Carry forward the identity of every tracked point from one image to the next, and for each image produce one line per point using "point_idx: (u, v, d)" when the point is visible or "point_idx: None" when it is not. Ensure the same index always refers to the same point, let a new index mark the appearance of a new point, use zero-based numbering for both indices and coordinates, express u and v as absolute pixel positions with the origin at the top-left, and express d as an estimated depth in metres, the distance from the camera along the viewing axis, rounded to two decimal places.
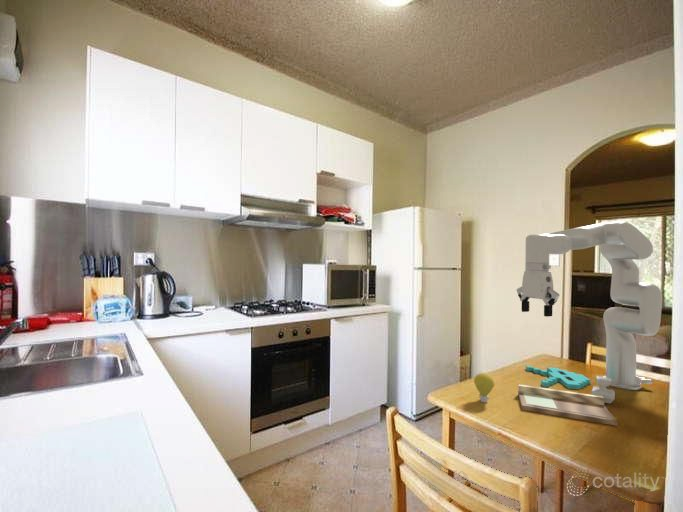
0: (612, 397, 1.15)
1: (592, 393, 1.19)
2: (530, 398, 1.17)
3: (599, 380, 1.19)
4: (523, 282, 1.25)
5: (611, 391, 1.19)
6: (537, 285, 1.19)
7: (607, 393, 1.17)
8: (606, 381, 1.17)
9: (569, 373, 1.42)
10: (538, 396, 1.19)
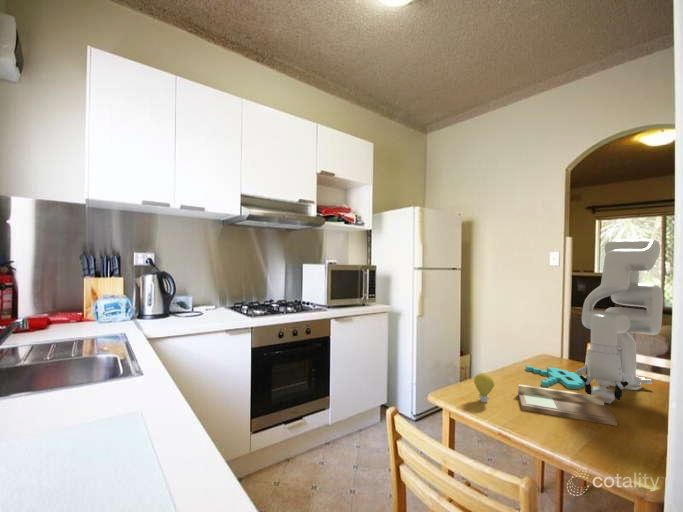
0: (612, 397, 1.15)
1: (592, 393, 1.19)
2: (530, 398, 1.17)
3: (599, 380, 1.19)
4: (592, 364, 1.19)
5: (611, 391, 1.19)
6: (614, 368, 1.16)
7: (607, 393, 1.17)
8: (606, 381, 1.17)
9: (569, 373, 1.42)
10: (538, 396, 1.19)
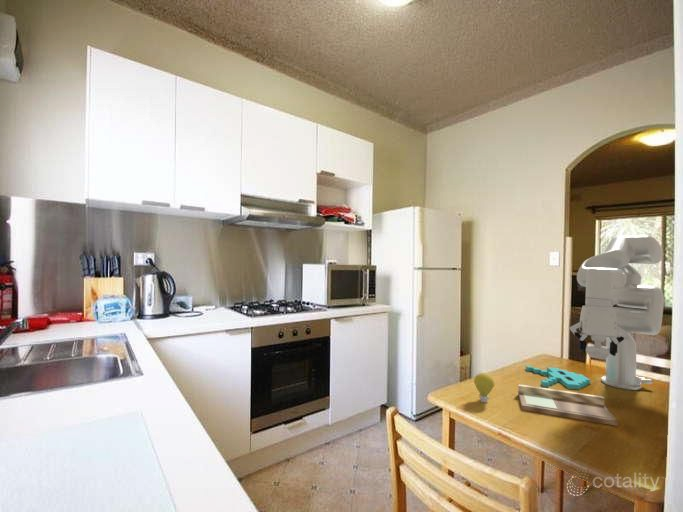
0: (607, 352, 1.11)
1: (587, 349, 1.15)
2: (530, 398, 1.17)
3: (594, 335, 1.14)
4: (586, 319, 1.15)
5: (606, 347, 1.14)
6: (609, 322, 1.12)
7: (602, 348, 1.13)
8: (601, 336, 1.13)
9: (569, 373, 1.42)
10: (538, 396, 1.19)
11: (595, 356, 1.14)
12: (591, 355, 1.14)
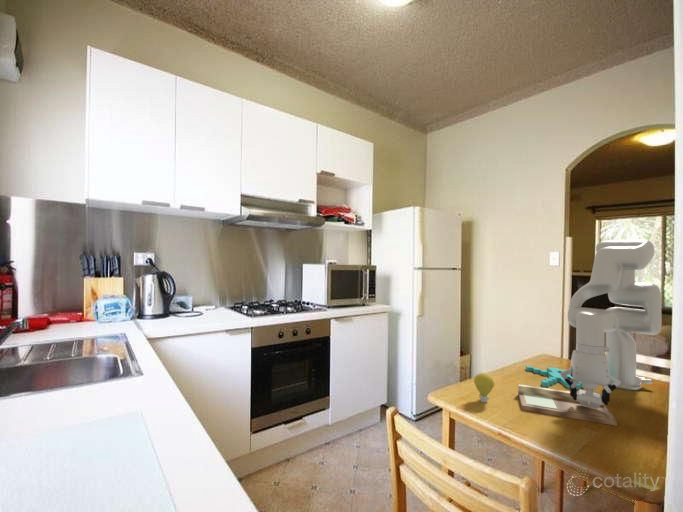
0: (599, 402, 1.06)
1: (578, 397, 1.10)
2: (530, 398, 1.17)
3: (585, 383, 1.09)
4: (577, 366, 1.10)
5: (598, 395, 1.09)
6: (600, 371, 1.07)
7: (594, 397, 1.08)
8: (593, 384, 1.08)
9: None
10: (538, 396, 1.19)
11: (586, 405, 1.09)
12: (582, 403, 1.09)
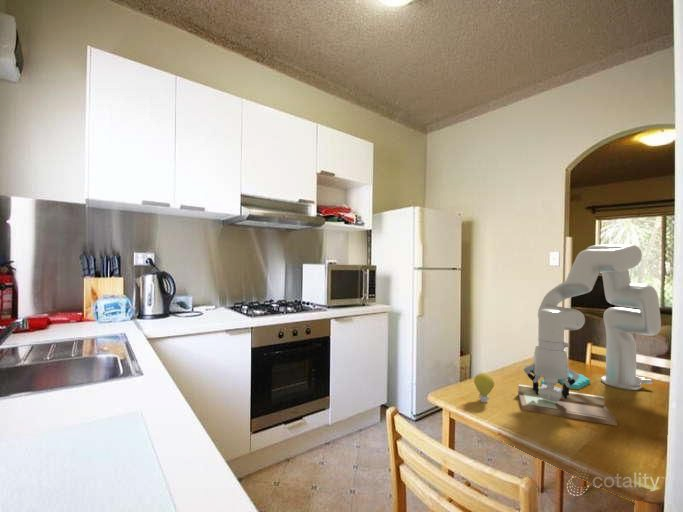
0: (558, 395, 1.10)
1: (539, 391, 1.14)
2: (530, 398, 1.17)
3: (546, 378, 1.14)
4: (538, 361, 1.14)
5: (558, 389, 1.14)
6: (560, 366, 1.11)
7: (554, 391, 1.12)
8: (553, 379, 1.12)
9: (569, 373, 1.42)
10: (538, 396, 1.19)
11: (547, 399, 1.13)
12: (543, 397, 1.14)
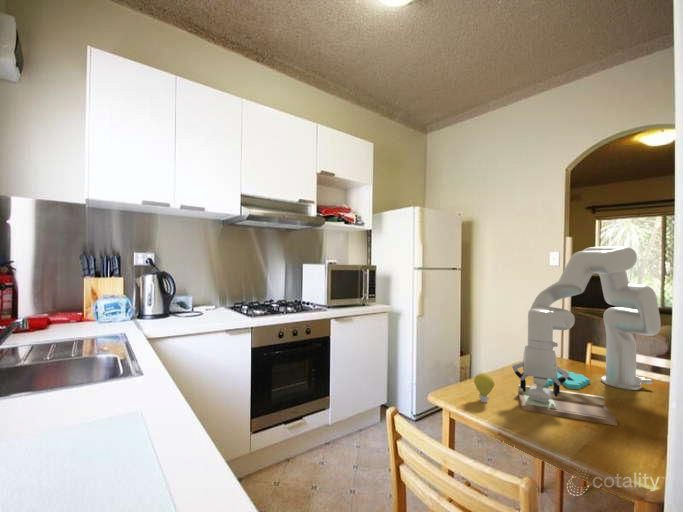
0: (547, 396, 1.12)
1: (529, 392, 1.15)
2: (530, 398, 1.17)
3: (536, 379, 1.15)
4: (528, 361, 1.15)
5: (548, 390, 1.15)
6: (549, 365, 1.12)
7: (543, 392, 1.13)
8: (542, 380, 1.14)
9: (569, 373, 1.42)
10: None
11: (537, 399, 1.14)
12: (533, 398, 1.15)
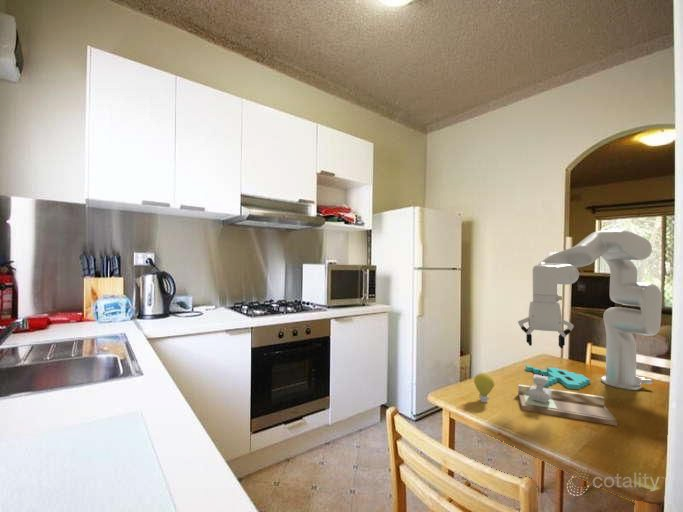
0: (547, 396, 1.12)
1: (529, 392, 1.15)
2: (530, 398, 1.17)
3: (536, 379, 1.15)
4: (533, 315, 1.18)
5: (548, 390, 1.15)
6: (554, 317, 1.16)
7: (543, 392, 1.13)
8: (542, 380, 1.14)
9: (569, 373, 1.42)
10: None
11: (537, 399, 1.14)
12: (533, 398, 1.15)
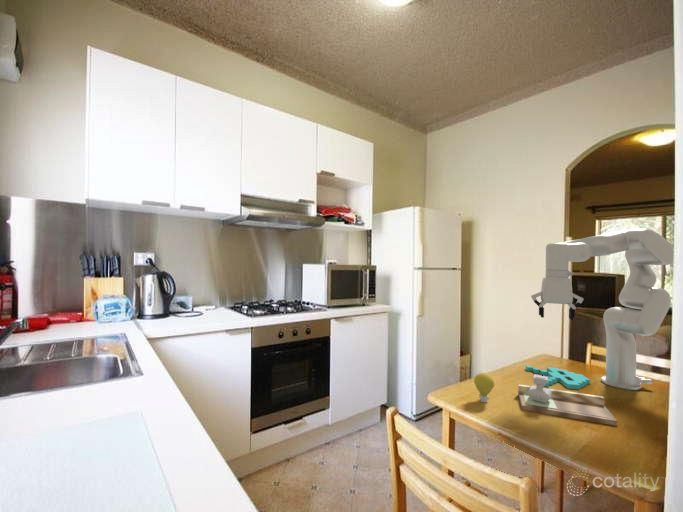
0: (547, 396, 1.12)
1: (529, 392, 1.15)
2: (530, 398, 1.17)
3: (536, 379, 1.15)
4: (546, 289, 1.28)
5: (548, 390, 1.15)
6: (565, 291, 1.25)
7: (543, 392, 1.13)
8: (542, 380, 1.14)
9: (569, 373, 1.42)
10: None
11: (537, 399, 1.14)
12: (533, 398, 1.15)
